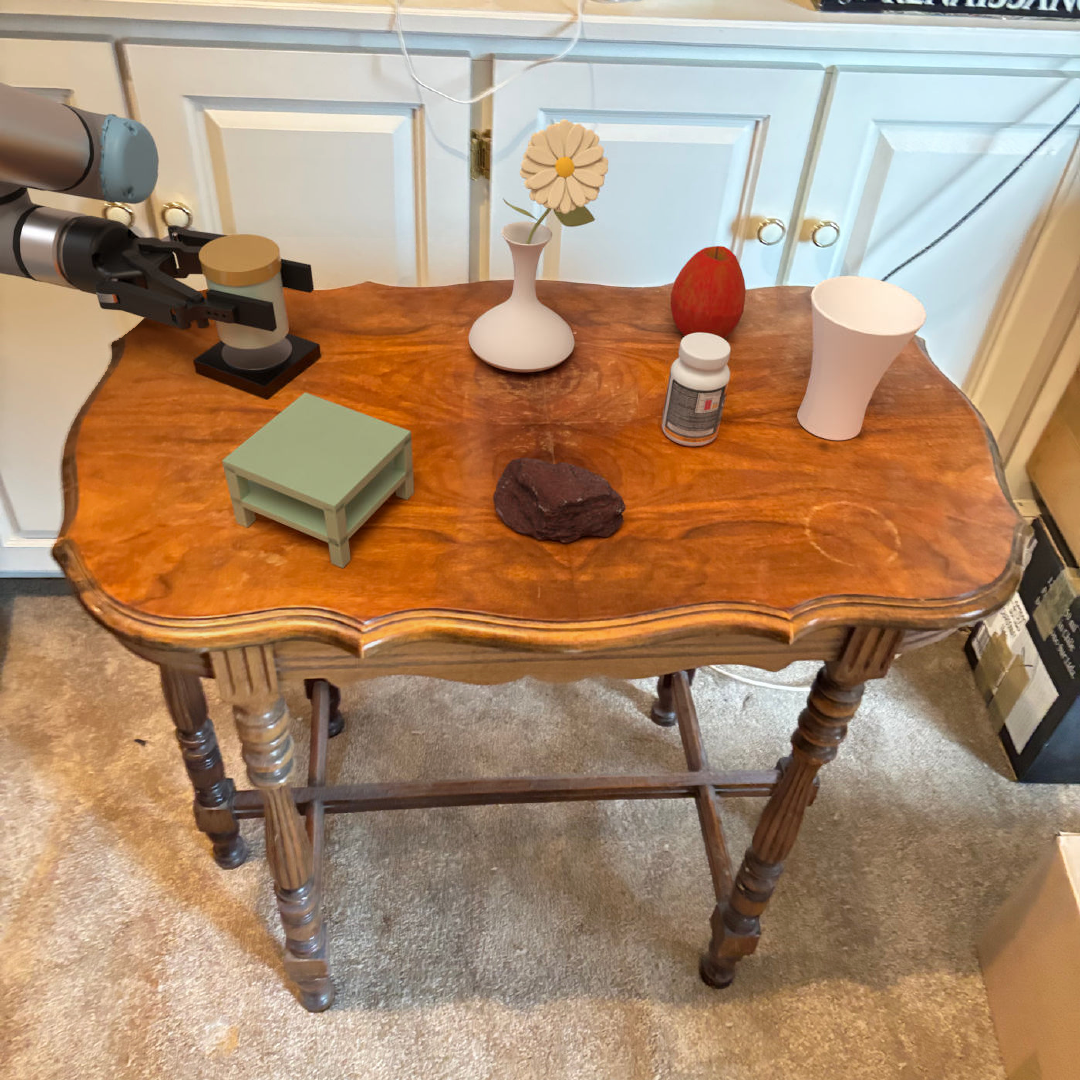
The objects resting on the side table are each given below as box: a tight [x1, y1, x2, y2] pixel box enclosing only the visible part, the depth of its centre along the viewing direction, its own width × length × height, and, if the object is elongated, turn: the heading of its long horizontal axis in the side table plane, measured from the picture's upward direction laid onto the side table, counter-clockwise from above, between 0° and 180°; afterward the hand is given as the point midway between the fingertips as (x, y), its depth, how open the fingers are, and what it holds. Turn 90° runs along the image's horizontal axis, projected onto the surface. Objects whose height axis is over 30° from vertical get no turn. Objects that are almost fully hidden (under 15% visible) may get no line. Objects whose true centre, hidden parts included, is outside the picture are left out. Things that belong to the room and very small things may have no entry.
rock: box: [492, 457, 627, 543], centre depth 82 cm, size 11×6×8 cm
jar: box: [199, 233, 290, 349], centre depth 92 cm, size 7×7×8 cm
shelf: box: [221, 392, 415, 569], centre depth 80 cm, size 11×11×7 cm
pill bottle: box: [661, 333, 732, 447], centre depth 90 cm, size 6×6×10 cm
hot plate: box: [192, 332, 322, 400], centre depth 97 cm, size 9×9×2 cm
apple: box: [670, 245, 747, 340], centre depth 103 cm, size 8×8×11 cm
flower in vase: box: [468, 118, 609, 373], centre depth 93 cm, size 13×11×25 cm
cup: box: [796, 275, 927, 441], centre depth 91 cm, size 10×10×14 cm
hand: (292, 297), depth 90 cm, fingers closed on jar, 7 cm apart
